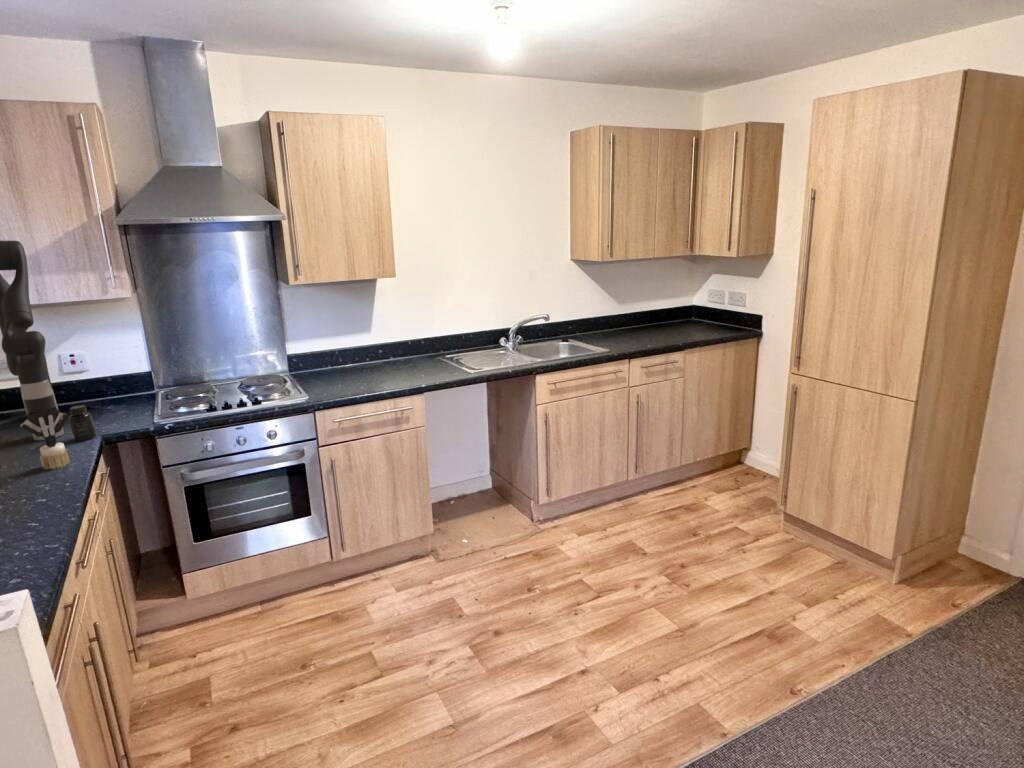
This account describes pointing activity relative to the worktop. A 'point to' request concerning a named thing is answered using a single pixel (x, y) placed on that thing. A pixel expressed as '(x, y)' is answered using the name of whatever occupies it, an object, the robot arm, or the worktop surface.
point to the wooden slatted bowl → (55, 461)
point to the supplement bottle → (81, 423)
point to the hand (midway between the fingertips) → (51, 446)
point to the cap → (52, 450)
